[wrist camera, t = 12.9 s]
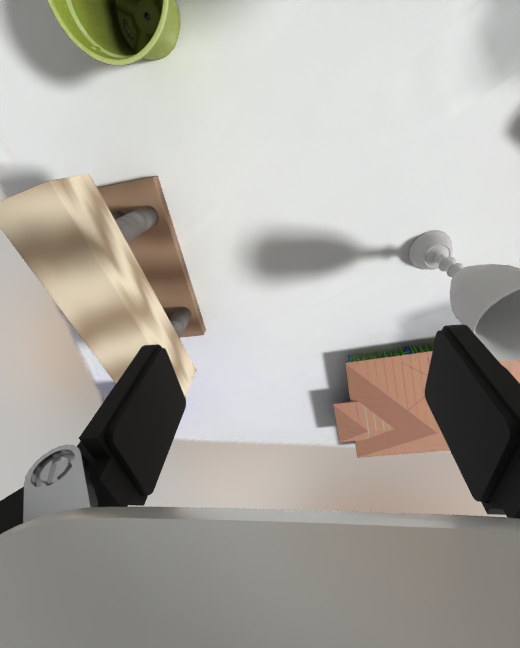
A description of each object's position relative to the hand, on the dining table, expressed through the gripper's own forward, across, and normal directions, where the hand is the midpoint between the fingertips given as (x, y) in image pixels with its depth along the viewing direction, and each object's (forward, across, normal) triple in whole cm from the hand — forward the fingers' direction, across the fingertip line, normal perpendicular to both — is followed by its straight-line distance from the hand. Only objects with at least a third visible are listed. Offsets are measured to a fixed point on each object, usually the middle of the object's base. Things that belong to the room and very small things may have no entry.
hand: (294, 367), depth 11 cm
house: (+31, -20, +34) cm, 50 cm away
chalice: (+31, -16, +8) cm, 36 cm away
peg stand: (+30, +20, +6) cm, 36 cm away
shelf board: (+20, +19, +6) cm, 29 cm away
